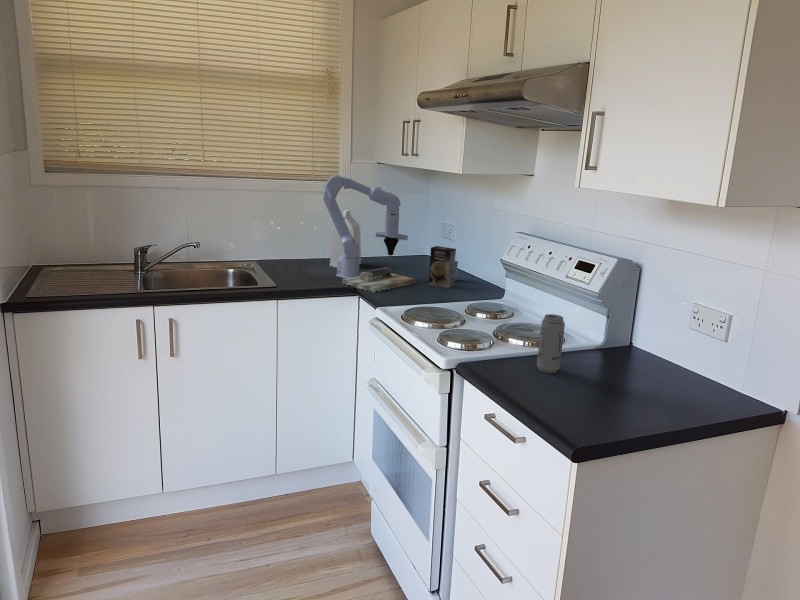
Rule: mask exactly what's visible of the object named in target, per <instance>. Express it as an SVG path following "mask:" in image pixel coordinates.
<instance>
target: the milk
mask: <svg viewBox="0 0 800 600" xmlns="http://www.w3.org/2000/svg"><path fill="white" fill-rule="evenodd" d="M342 216H343V218H344V220H345V222H346V225H347V227H348V229H349V231H350V234H351V235H352V237H353V239H354V240H355V241H356V242H357V243H358V245H359V252H358V255H359V256H360V257H359V264H361V265H362V256H361V255H362V254H361V253H362V252H361V251H362V250H361V249H362V248H361V225H360V223H359V222H357V221H356V219H355V218H354V217H352V214H351V209H345V210H343V212H342ZM330 241H331V242H330V256H329V267H330V266H333V267H332V268H337V261H338V259H339V257H340V256H343V255H344V246H343V244H342V241H341V238H340V236H339V233H338V231H337V229H336V227H335V224H334V223H333V225H332V228H331V239H330Z"/></svg>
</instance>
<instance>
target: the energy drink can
mask: <svg viewBox="0 0 800 600" xmlns="http://www.w3.org/2000/svg"><path fill="white" fill-rule="evenodd" d="M565 326H566V324H565V321H564V316H561V315H558V314H550V313H549V314H545V315H544V317H543V319H542V320H541V323H540V334H539V342H538V343H539V344H538V351H537V352H538V353H537V360H536V367H537V368H538V370H539V371H540V372H543V373H546V374H556V373H557V372H558V370H560V367H561V359H562V350H563V343H564V337H565V336H564V335H565Z"/></svg>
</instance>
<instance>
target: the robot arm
mask: <svg viewBox="0 0 800 600" xmlns="http://www.w3.org/2000/svg"><path fill="white" fill-rule="evenodd" d="M324 187H325V188H324V193H323V202H324V204H325V206H326V209H327V211H328V214H329V215H330V218H331V219H332V222H333V225H334V224H335V227H336V229H337V231H338V233H339V236H340V238H341V241H342V244H343V246H344V255H343V256H340V257H339V259H338V261H337V267H336V274H335V277H338V278H341V279H347V278H352V277H358V276H361V274H360V265H359V257H360V256H359V255H358V252H359V245H358V243H357V242H356V241H355V240H354V239H353V237H352V235H351V234H350V231H349V229H348V227H347V225H346V222H345V220H344V218H343V212H342V211H341V209H340V207H339V204H338V202H337V196H338V194H339V192H340V190H342V188H343V190H347V189H352V190H354V191H356V192H360V193H361V194H365V195H367V196H368V198H369V200H370V201H372V202H374V203H377V204H379V205H382V206H386V212H385V221H384V223H385V225H384V226H385V227H384V232H382V231H376V232H375V238H383V242H384V244H385V246H386V251H387V255H388V256H394V252H395V249H396V246H397V244H398V243H399V241H401V240H402V241H408V239H409V238H408V236H409V235H407V234H401V233H399V227H400V226H399V225H400V224H399V223H400V206H401V200H400V198H399V197H398V195H396V194H392V192H390V191H389V192H388V191H386V190H383V189H382V188H381V186H378V187H376V186H374V187H372V188H371V187H369V186H367V185H365V184H362V183H361V182H358V181H356V180H354V179H352V178H349V177H346V176H341V175H339V174H333V175H331V176H330V177H329V178H328V180H327V181H326V183H325V186H324Z"/></svg>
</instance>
